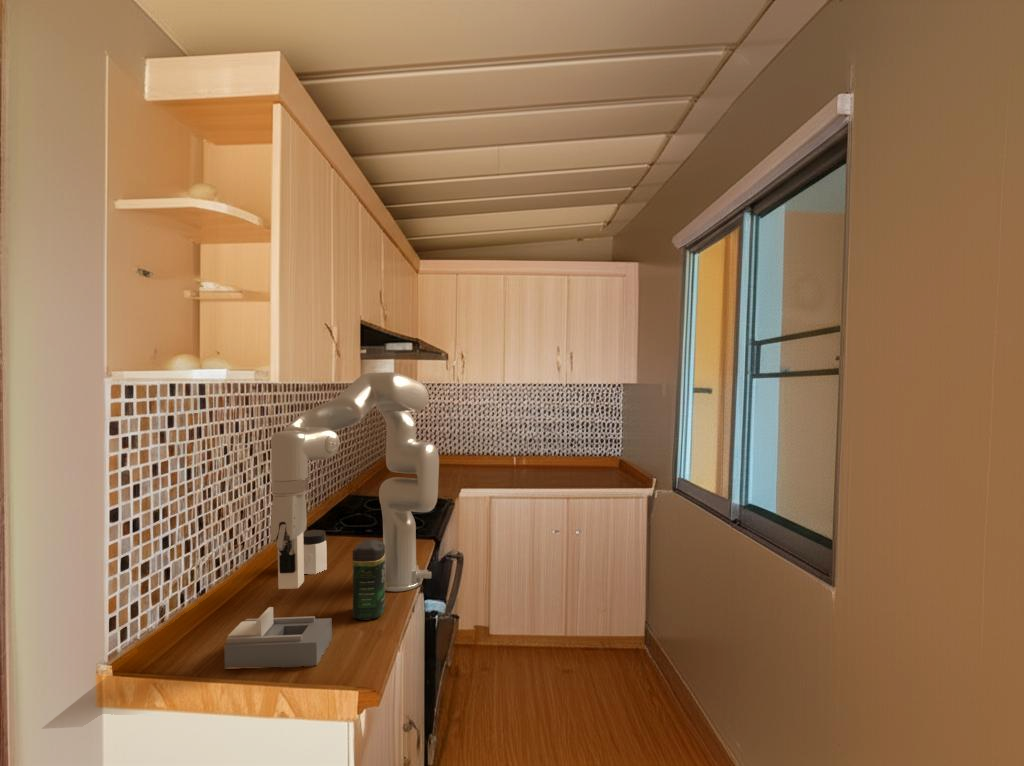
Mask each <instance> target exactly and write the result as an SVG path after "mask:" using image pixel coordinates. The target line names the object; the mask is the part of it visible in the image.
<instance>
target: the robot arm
mask: <svg viewBox="0 0 1024 766" xmlns="http://www.w3.org/2000/svg"><path fill="white" fill-rule="evenodd" d="M428 402H429V392H428V390H427V387H426V386H425V385H424V384H423V383H422V382H420V381H418V380H415V379H413V378H412V377H410V376H407V375H405V374H401V373H398V372H392V371H390V372H389V371H388V372H385V371H384V372H366V373H363V374H362V375H360V376H358V377H357V379H355V380H354V381H353V382H352V383H351V384H350V385H348V387H346V389H344V390H343V391H341V393H340V394H339V395H337V396H336V397H335V398H333V399H331V400H329V401H326V402H324V403H322V404H320V405H317V406H314V407H313V408H310V409H308V410H306V411H305V412H304V413H301V414H300V415H299V416H297V417H296V418H294V419H293V420H291V421H292V422H290V423H289V424H288V425H287V426H286V427H285V428H284V429H283V431H282V430H281V431H277V432H274V433H273V434H272V435H271V439H270V448H271V451H270V452H271V454H270V457H271V458H270V459H271V460H270V461H271V463H270V464H271V495H272V496H273V499H272V506H271V518H270V519H271V520H270V521H271V522H270V540H271V541H272V543H275V542H276V548H277V550H278V549H279V565H280V573H294V572H295V554H293V552H294V540H295V539H296V538H297V536H299V535H300V534H301V533H302V532H305V531H307V530H306V529H307V522H308V521H307V520H308V519H307V517H308V516H307V501H306V500H307V499H306V494H308V493H309V461H323V460H328V459H331V458H332V457H333V456H334V455H336V454H337V453H338V451H339V448H340V446H341V445H340V444H341V441H340V437H339V434H337V433H336V432H335V431H337V430H342V429H346V428H348V427H352V426H355V425H357V424H358V423H360V422H361V421H362V420H363V419H364V418H365V417H366V416H367V415H368V414H369V412H371V411H372V409H373V408H375V407H376V409H377V410H378V412H380V414H381V415H382V418H384V421H385V425H386V447H385V448H386V450H385V464H386V468H387V469H388V470H389V471H390V472H393V473H398V474H399V473H400V474H412V475H413V474H415V475H416V477H417V478H413V477H412V478H411V477H398V476H396V477H395V476H394V477H390V478H387V479H386V480H384V481H383V482H382V483H381V484H380V486H379V490H378V499H379V504H380V508H381V514H382V532H383V533H382V540H383V541H382V542H383V543H384V545H385V592H386V591H387V592H406V591H409V590H414V589H417V587H419V586H420V585H421V584H422V582H423V581H422V580H423V579H426V580H427V579H432V571H429V569H421V568H419V565H418V564H417V538H416V537H417V536H416V535H417V533H416V530H417V526H416V525H417V524H416V521H415V518H414V515H413V512H414V513H428V512H431V511H432V510H434V509H435V508H436V507H435V506H436V505H437V503H438V496H439V475H440V474H439V473H440V472H439V471H440V455H439V452H438V451H439V450H438V449H437V447H436V445H435V444H433V443H431V442H430V441H429V442H428V441H421V440H419V441H417V437H416V434H417V433H416V430H417V429H416V428H417V427H416V421H415V419H414V417H413V415H412V414H411V413H415V412H420V411H423V410H424V409H425V408H426V406H427V405H428ZM278 534H279V535H278ZM286 537H290V538H289V540H285V539H286ZM286 543H290V548H289V546H288V545H286Z"/></svg>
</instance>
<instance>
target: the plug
mask: <svg viewBox="0 0 1024 766" xmlns="http://www.w3.org/2000/svg"><path fill="white" fill-rule="evenodd" d="M278 535H279V534H278ZM289 538H290V537H286V539H285V540H289ZM286 545H288V546H289V548H290V543H286ZM293 554H295V572H294V573H280V565H279V549H278V548H277V576H278V577H277V582H278V583H277V584H278V590H283V589H284V590H289V589H294V590H295V589H299V588H300V587H301V586H302V584H303V583H304V582H305V575H304V540H303V532H302V533H301V534H300V535H299V536H297V538H296V539H295V540H294V552H293Z"/></svg>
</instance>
